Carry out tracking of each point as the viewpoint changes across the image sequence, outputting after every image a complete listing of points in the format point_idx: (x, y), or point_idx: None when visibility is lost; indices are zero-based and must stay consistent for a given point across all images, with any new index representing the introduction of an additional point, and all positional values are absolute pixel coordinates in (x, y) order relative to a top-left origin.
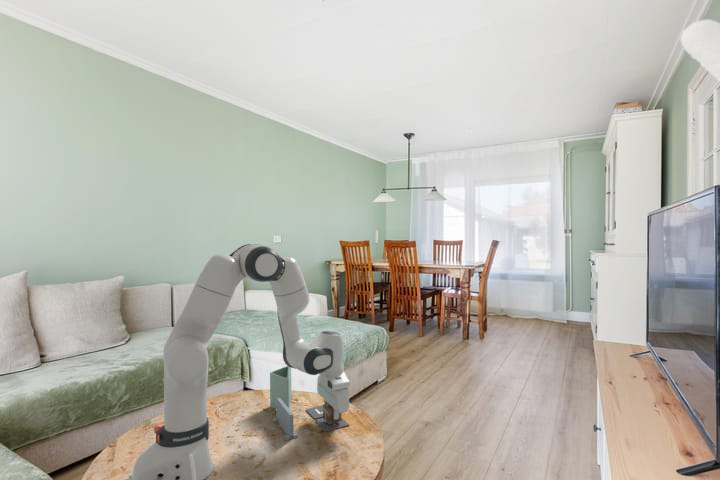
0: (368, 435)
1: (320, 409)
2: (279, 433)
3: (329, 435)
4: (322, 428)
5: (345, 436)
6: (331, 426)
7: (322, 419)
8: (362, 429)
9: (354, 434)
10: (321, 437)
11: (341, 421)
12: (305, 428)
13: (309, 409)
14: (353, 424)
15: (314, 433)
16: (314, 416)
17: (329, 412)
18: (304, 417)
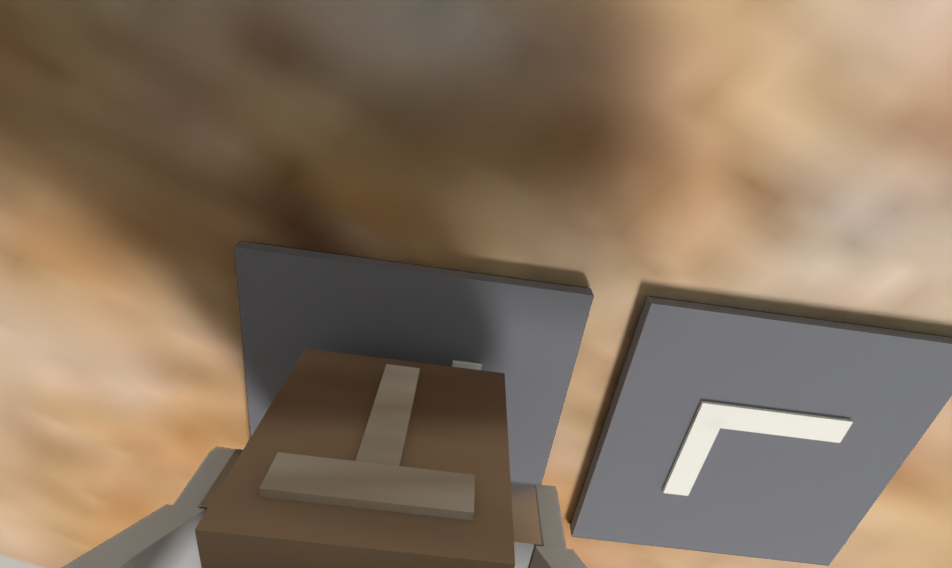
0: (3, 513)
1: (793, 467)
2: None
3: (139, 236)
4: (351, 256)
5: (49, 362)
6: None
7: (549, 366)
8: None
9: (63, 443)
10: (124, 121)
11: None
12: (509, 56)
13: (927, 378)
14: None
15: (283, 95)
16: (700, 332)
17: (225, 494)
18: (819, 222)
